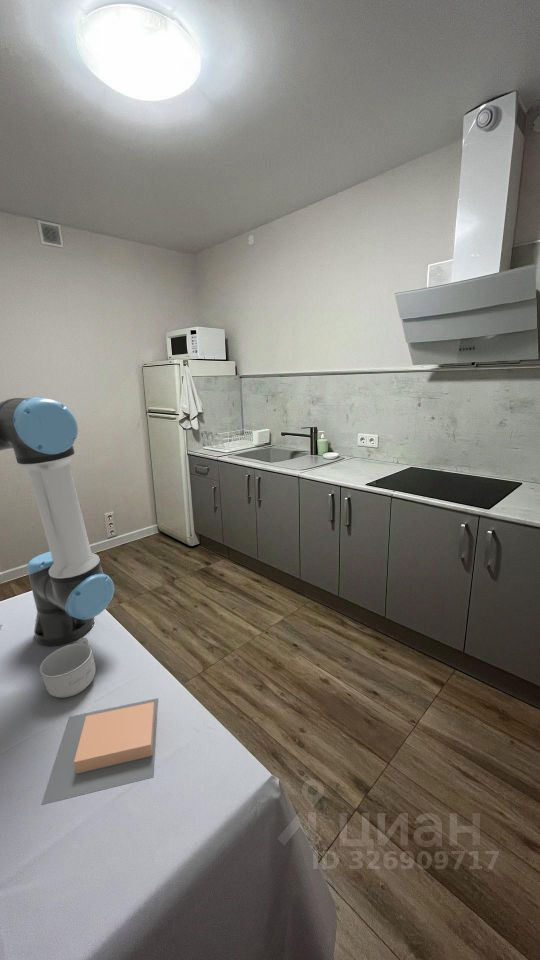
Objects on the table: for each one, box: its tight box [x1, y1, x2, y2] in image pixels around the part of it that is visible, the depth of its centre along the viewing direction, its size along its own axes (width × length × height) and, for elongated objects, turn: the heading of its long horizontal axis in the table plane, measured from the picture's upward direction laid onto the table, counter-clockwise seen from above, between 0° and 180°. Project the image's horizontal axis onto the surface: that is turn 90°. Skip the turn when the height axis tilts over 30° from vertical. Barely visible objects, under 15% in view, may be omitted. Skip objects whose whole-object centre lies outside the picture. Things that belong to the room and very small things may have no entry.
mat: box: [41, 697, 159, 806], centre depth 76 cm, size 18×18×1 cm
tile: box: [74, 702, 155, 773], centre depth 76 cm, size 10×3×13 cm
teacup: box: [39, 637, 96, 699], centre depth 92 cm, size 14×11×8 cm
